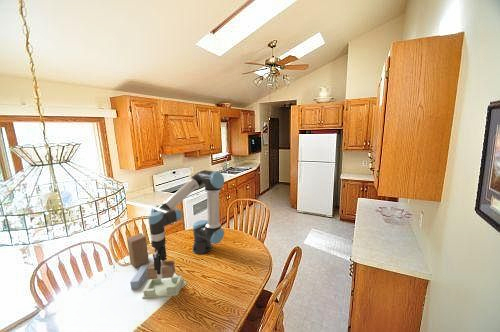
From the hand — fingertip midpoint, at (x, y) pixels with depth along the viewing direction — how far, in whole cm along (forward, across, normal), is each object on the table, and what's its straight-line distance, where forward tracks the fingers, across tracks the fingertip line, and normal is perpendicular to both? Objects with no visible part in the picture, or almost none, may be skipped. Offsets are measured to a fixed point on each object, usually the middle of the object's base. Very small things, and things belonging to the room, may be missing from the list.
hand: (162, 274), depth 125 cm
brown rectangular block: (+1, 0, 0) cm, 1 cm away
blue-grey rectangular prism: (+10, -10, -18) cm, 23 cm away
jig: (+10, 0, 0) cm, 10 cm away
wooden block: (+10, -29, -27) cm, 41 cm away
